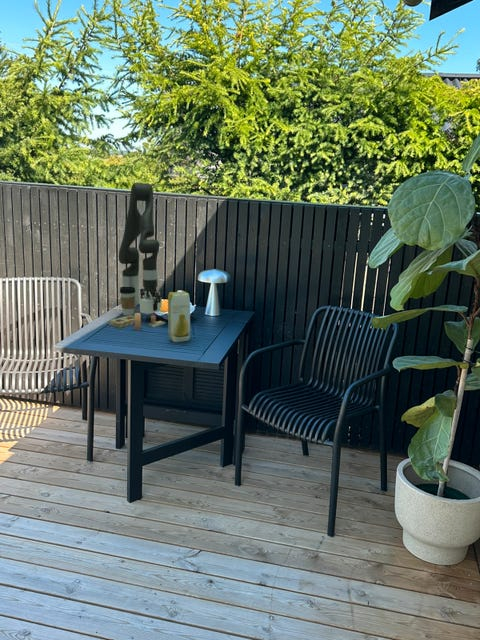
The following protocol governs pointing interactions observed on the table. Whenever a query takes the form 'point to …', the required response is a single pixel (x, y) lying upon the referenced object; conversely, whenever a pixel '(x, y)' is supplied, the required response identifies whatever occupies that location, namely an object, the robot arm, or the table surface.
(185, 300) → the juice carton
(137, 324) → the terracotta peg
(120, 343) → the table surface
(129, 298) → the coffee cup
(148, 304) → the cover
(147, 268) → the robot arm
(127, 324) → the socket board
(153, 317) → the pattern board
